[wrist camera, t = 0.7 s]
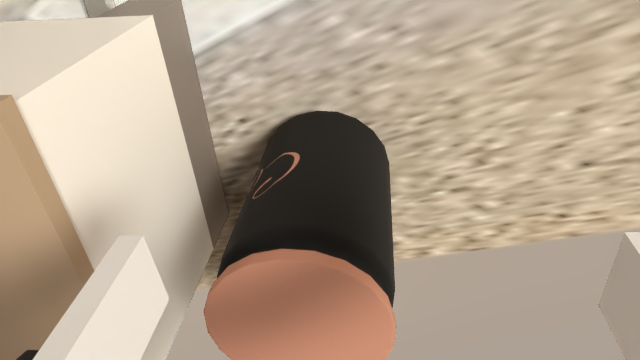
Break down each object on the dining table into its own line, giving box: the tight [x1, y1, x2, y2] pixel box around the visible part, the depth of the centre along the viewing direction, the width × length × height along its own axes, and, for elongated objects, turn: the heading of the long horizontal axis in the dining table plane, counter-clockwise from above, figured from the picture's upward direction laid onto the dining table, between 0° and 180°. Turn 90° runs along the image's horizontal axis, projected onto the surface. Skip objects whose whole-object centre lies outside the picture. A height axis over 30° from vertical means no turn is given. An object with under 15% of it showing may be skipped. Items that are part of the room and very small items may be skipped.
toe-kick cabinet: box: [0, 0, 229, 360], centre depth 31 cm, size 21×16×20 cm
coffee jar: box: [204, 111, 396, 360], centre depth 32 cm, size 11×11×18 cm
